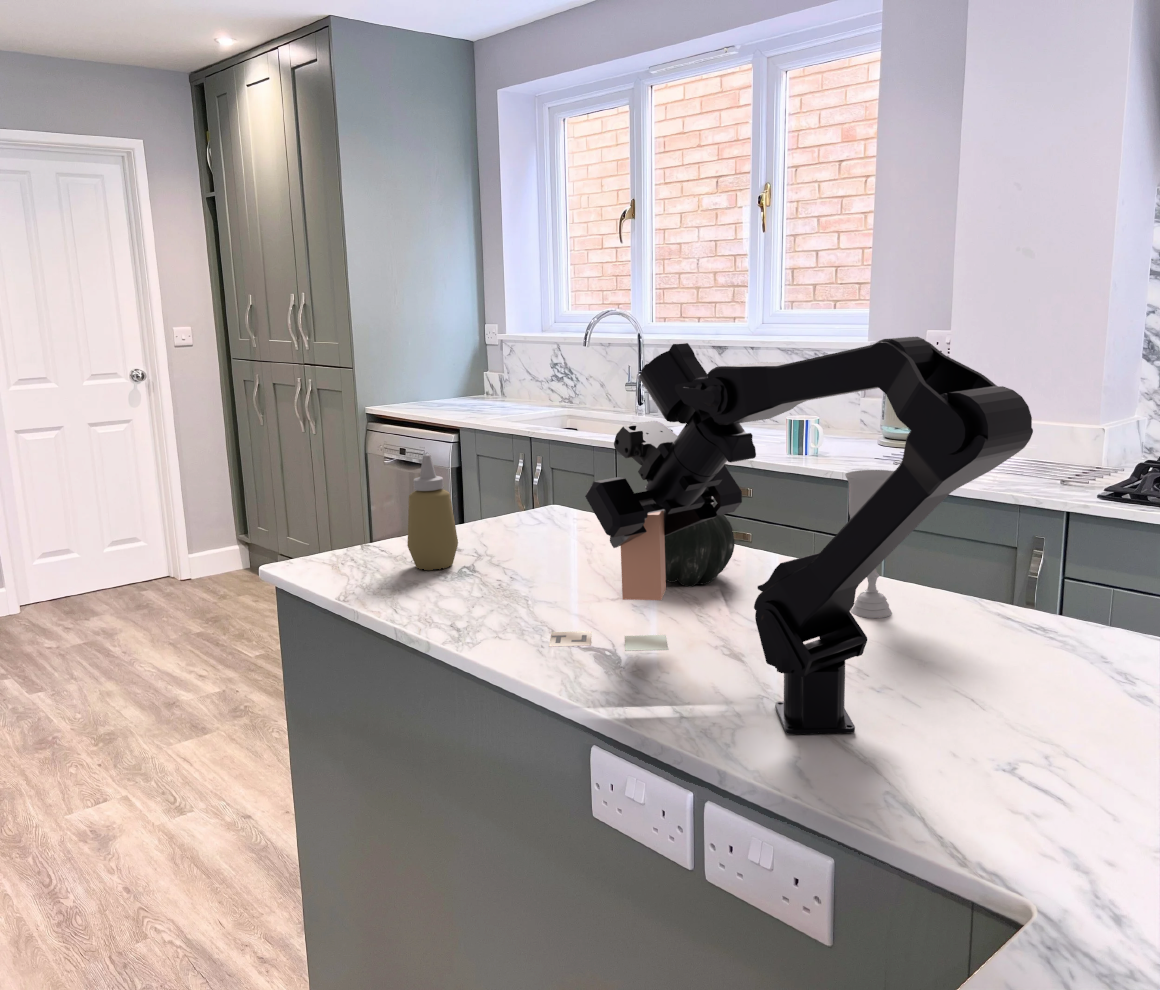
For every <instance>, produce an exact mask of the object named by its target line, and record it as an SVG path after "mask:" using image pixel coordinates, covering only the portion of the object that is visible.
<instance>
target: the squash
mask: <svg viewBox="0 0 1160 990" xmlns="http://www.w3.org/2000/svg"><path fill="white" fill-rule="evenodd" d="M712 505H713V507H715V506H716V505H717V502H716V501H714V503H713V504H712ZM664 513H665V511H664ZM664 537H665V573H666V582H669V583H674V582H676V581H678V582H679V583H680V584H681V585H683V586H685V587H694V586H695V585H697V584H698V585H705V584H709V583H711V582H712V581H714V580H715V579H716V578H717V576H719V574H720V573H722V571H723V570H725V568H726V566H727V565H728V564H729V562H730V561H731V559H732V556H733V554H734V551H735V550H734V549H735V535H734V529H733V527H732V524H731V522H730V520H729V519H728V518H727V516H726V514H721V515H717V516H716V517H715V518H712V519H709V520H706V521H704V522H701V523H698V524H696V525H693V526H690V527H688V528H685V529H682V530H680V531H677V532H675V533H672V534H670V535H667V536H664Z"/></svg>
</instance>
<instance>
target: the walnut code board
mask: <svg viewBox="0 0 1160 990" xmlns="http://www.w3.org/2000/svg"><path fill="white" fill-rule="evenodd" d="M592 633H593V631H592V630H589V631H588V630H583V631H579V630H578V631H551V633H550V638H549V644H548V645H549V646H548V647H550V648H552V647H584V646H585V647H587V646H589V647H590V646H592V637H593V634H592ZM667 639H668V638H667V635H666V634H646V635H643V634H642V635H641V634H640V635H624V650H625V652H631V651H632V652H633V651H635V652H636V651H638V652H639V651H669V647H668V645H669V644H668V640H667Z"/></svg>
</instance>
